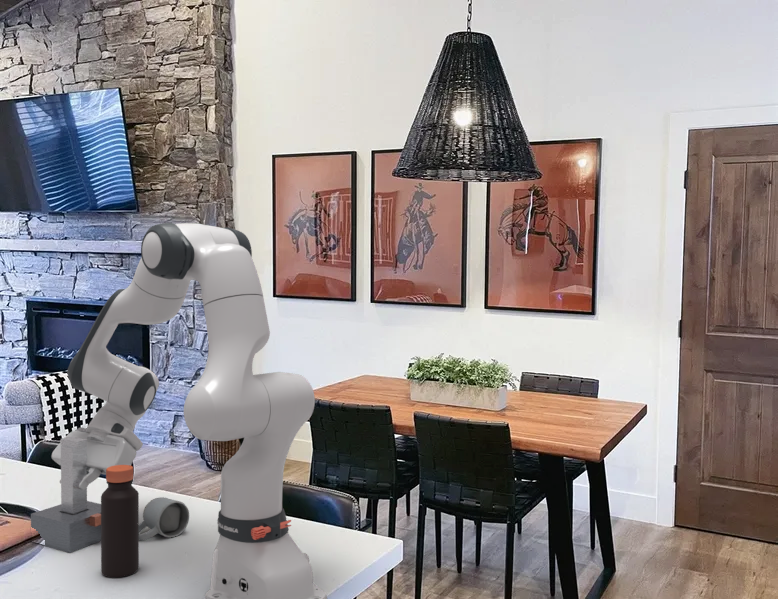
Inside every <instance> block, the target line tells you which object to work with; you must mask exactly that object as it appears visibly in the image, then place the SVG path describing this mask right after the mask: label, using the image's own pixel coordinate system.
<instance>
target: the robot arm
mask: <svg viewBox="0 0 778 599" xmlns="http://www.w3.org/2000/svg"><path fill="white" fill-rule="evenodd" d="M140 246H141V247H140V254H141V258H140V260H139V262H138V264H137V267H136V269H135V272H134V275H133V278H132V280H131V282H130V284H129V285H128V286H127V287H126V288H119V289H117V290H116V291H115V292H114V293H112V294H111V295H110V297H109V298H108V299H107V300H106V302H105V303H104V305H103V306H102V309H101V310H100V312H99V313H98V315H97V317H96V318H95V320H94V322H93V323H92V326H91V328H90V329H89V332H88V333H87V335H86V338H85V339H84V340H83V343H82V344H81V346H80V348H79V349H78V350H77V352H76V353H75V355H74V357H73V358H72V359H71V361H70V363H69V365H68V367H67V370H66V373H67V377H68V380H69V381H68V382H69V383H70V385H71V387H72V388H73V389H75V390H79V391H80V392H82V393H86V394H89V395H92V396H94V397H96V398H98V399H101V400H103V401H104V402H106V403H105V404H103V406H102V407H101V408H99V409H98V411H97V413H95V415H94V417H92V419H91V421H90V422H89V424H87V426H86V427H83V426H82V427H78V428H76V429H75V430H72V431H71V432H69V433H68V434H67V435H66V436H65V437H64V438H66V437H76V438H81V439H87V463H86V465H87V475H86V476H85V477H84V478H83V479H81V478H80V479H79V480H78V482H77V483H76V487H77V488H78V489H81V490H85V489H86V488H87V489H88V486H89V485H90V484H91V483H93V482H94V481H96V480H97V479H98V478H99V477H100V475H104V476H106V469H107V468H108V467H111V466H115V465H130V466H132V464H133V462H134V461H135V459H136V456H137V452H138V451H140V450H141V449H142V447H143V446H144V443H143V441H141V439H140V438H139V437H138V436H137V435H136V434H135V433H134V430H135V428H136V425H137V423H138V422H139V420H140V419H142V417H143V416H144V415H145V414H146V412H147V411H148V409H149V407H150V406H151V405H152V403H153V401H154V400H155V398H156V395H157V391H158V388H159V386H160V381H159V378H158V376H157V375H156V374H155V373H154V372H153V371H152V370H150V369H149V368H147V367H145V366H138V365H137V364H134V363H133V362H129V361H127V360H125V359H123V358H121V357H119V356H117V355H115V354H112V352H110V351H109V349H108V348H107V346H108V344H109V342H110V340H111V338H112V337H113V334H114V333H115V330H116V329H117V327H118V325H120V324H138V325H146V326H148V325H150V326H151V325H158V324H162V323H165V322H168V321H169V320H172V319H173V318H174V317H176V316H177V315H178V313H179V312H180V310H181V308H182V307H183V304H184V301H185V299H186V295H187V293H188V290H189V288H190V284H191V281H195V282H198V283H199V285H200V289H201V297H202V298H201V299H202V305H203V311H204V317H205V324H206V331H207V332H206V334H207V341H208V350H207V353H208V354H207V360H206V364H205V367H204V371H203V372H202V374H201V377H200V378H199V379H198V381H197V382H196V384H194V386H193V387H192V388H191V389H190V391H189V392H188V394H187V395H186V398H185V400H184V405H183V417H184V422H185V425H186V427H187V428H188V430H189V432H190V434H192V435H193V436H194V437H195V438H196V439H198V440H201V441H212V442H214V441H215V442H228V441H234V440H238V439H243V441H242V443H241V445H240V447H239V449H238V450H237V451H236V452H235V454H233V456H232V457H230V458H229V459H228V460H227V461H226V462H225V464H224V465H223V467H222V469H221V472H220V509H219V511H218V516H217V532H218V533H219V538H218V542H217V544H216V547H215V549H214V551H213V554H212V566H211V575H210V587H209V590H207V591H206V593H205V596H204V599H328V594H327V592H326V591H325V590H323V589H322V588H320V587H319V585H317V584H315V583H314V573H313V568H312V564H311V563H310V557H309V555H308V553H306V552H302V550H301V549H300V548H299V546H298V545H297V543H296V542H295V541H294V539H293V537H292V536H291V535H290V533H289V527H291V526H292V525H291V524H289V523H291V522H292V519H288V520H287V515H286V512H285V509H284V508H283V484H284V483H283V481H284V471H285V465H286V460H287V456H288V454H289V451H290V448H291V447H292V443H293V441H294V440H295V438H296V436H297V434H298V433H299V431H300V429H302V427H303V426H304V424H305V423H307V422H308V420H310V418H311V416H312V415H313V413H314V409H315V404H316V398H315V393H314V389H313V387H312V385H311V383H310V382H309V381H308V379H307V378H306V377H305V376H304V375H302V374H298V373H293V372H292V373H290V372H283V371H276V372H267V373H259V374H257V373H256V374H254V373H253V372H254V371H253V361H254V358H255V356H256V354H258V353H259V351H261V350H262V349H263V348H264V347H265V346H266V345H267V343H268V342H269V339H270V334H271V332H270V326H269V322H268V321H269V320H268V315H267V310H266V305H265V298H264V293H263V290H262V284H261V281H260V277H259V275H258V271H257V269H256V268H257V267H256V266H255V262H254V261H253V253H252V252H253V250H252V246H251V242H250V240H249V238H248V236H247V235H246V234H245V233H244V232H242V231H240V230H238V229H235V228H231V227H219V226H214V225H208V224H202V223H197V222H196V223H193V222H192V223H191V222H188V223H187V222H186V223H185V222H183V223H173V222H163V223H158V224H153V225H152V226H151V227H149V228H148V229H147V231H146V232H145V233H144V236H143V238H142V240H141V245H140ZM61 446H62V445H61V441H60V442H59V444H58V445H57V446H56V447H55V449H53V451H52V453H51V459H52V461H54V462H55V463H56V464H58V465H59V466H61ZM59 483H60V484H61V479H59Z"/></svg>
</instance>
